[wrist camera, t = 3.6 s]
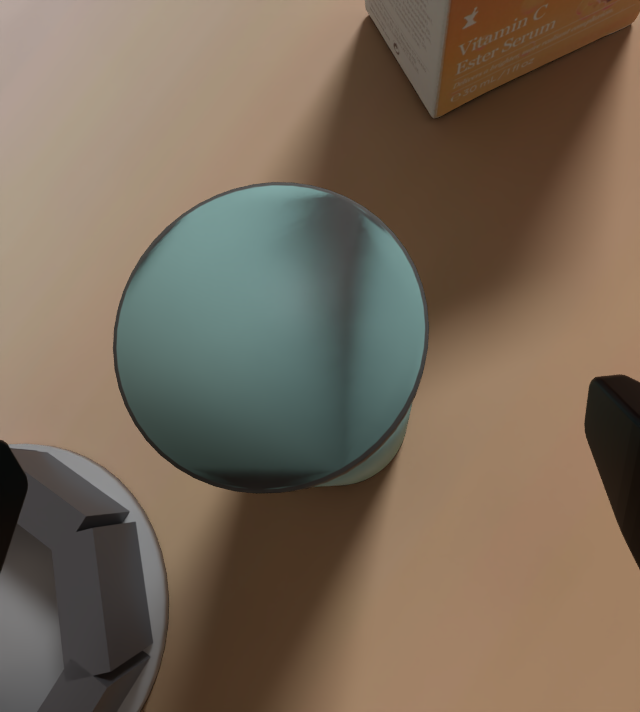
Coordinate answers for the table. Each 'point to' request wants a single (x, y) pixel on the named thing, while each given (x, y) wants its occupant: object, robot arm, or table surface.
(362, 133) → the table surface
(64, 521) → the collar
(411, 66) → the small box
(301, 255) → the plug
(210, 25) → the table surface
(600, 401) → the robot arm
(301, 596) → the table surface
